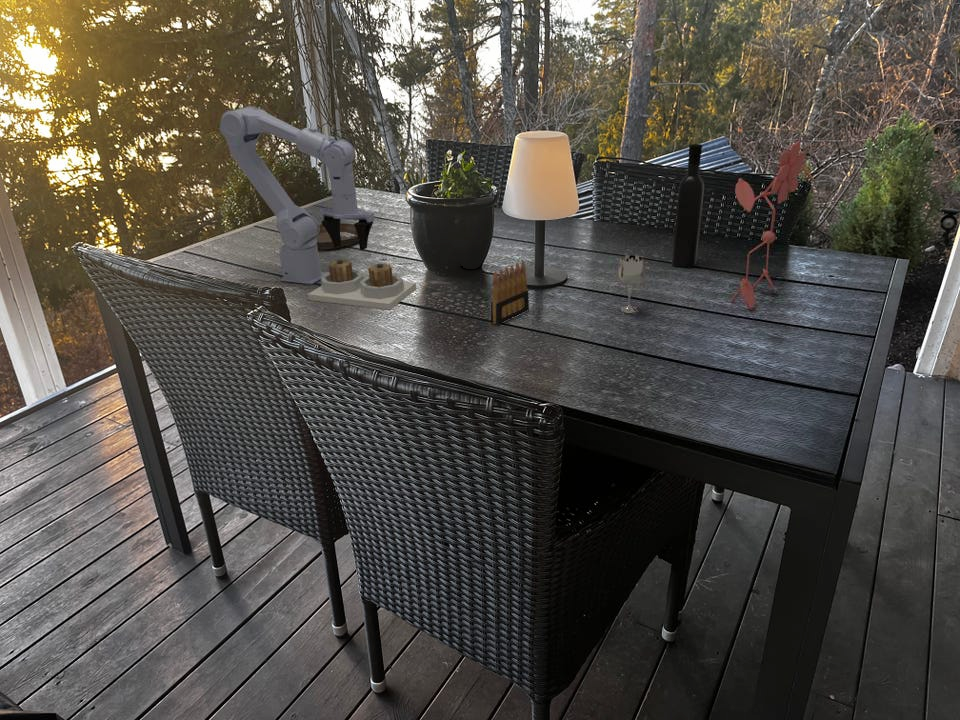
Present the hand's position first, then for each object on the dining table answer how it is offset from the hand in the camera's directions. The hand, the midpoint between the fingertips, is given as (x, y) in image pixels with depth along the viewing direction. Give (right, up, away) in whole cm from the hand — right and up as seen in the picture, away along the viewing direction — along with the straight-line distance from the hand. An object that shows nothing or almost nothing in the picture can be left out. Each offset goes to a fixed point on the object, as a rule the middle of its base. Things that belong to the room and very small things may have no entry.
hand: (350, 247), depth 173 cm
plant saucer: (-13, +7, +36) cm, 39 cm away
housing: (+4, -12, -4) cm, 13 cm away
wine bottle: (+85, -3, +6) cm, 86 cm away
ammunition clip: (+39, -19, -20) cm, 48 cm away
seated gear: (+9, -11, -7) cm, 16 cm away
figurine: (+97, -16, -19) cm, 100 cm away
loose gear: (-1, -10, -3) cm, 11 cm away
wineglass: (+65, -17, -19) cm, 70 cm away
